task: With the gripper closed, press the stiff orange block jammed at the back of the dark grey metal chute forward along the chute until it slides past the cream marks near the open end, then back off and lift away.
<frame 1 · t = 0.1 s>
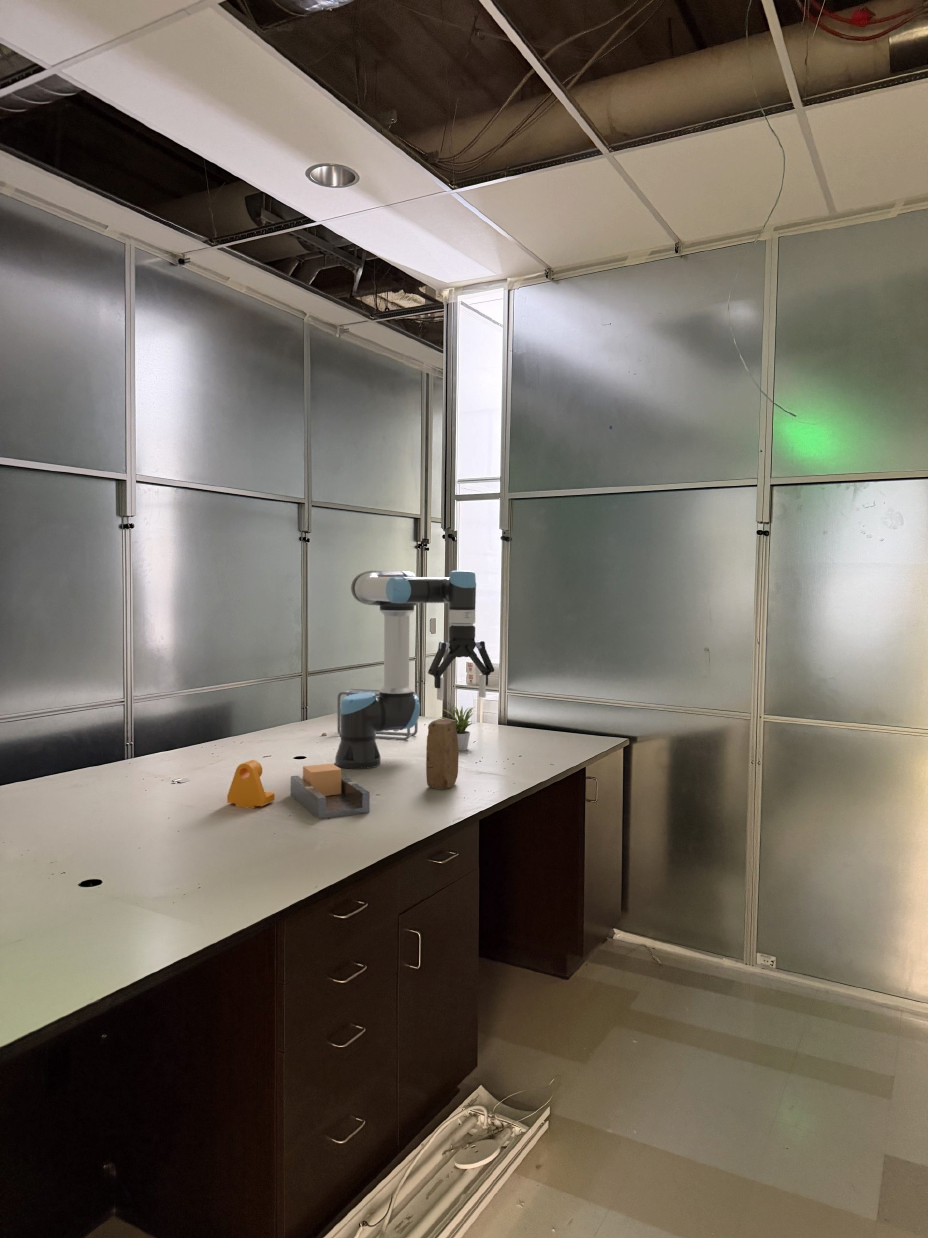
hand: (461, 698, 236), 28 cm above the worktop, tool pointing down, fingers open, 13 cm apart
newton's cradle: (377, 736, 324), on the worktop
slider block: (322, 780, 231), point 5 cm above the worktop, slide at 0.0 cm
house plant: (461, 749, 302), on the worktop
chute: (328, 803, 226), on the worktop
bracket: (251, 804, 226), on the worktop
block: (442, 786, 247), on the worktop
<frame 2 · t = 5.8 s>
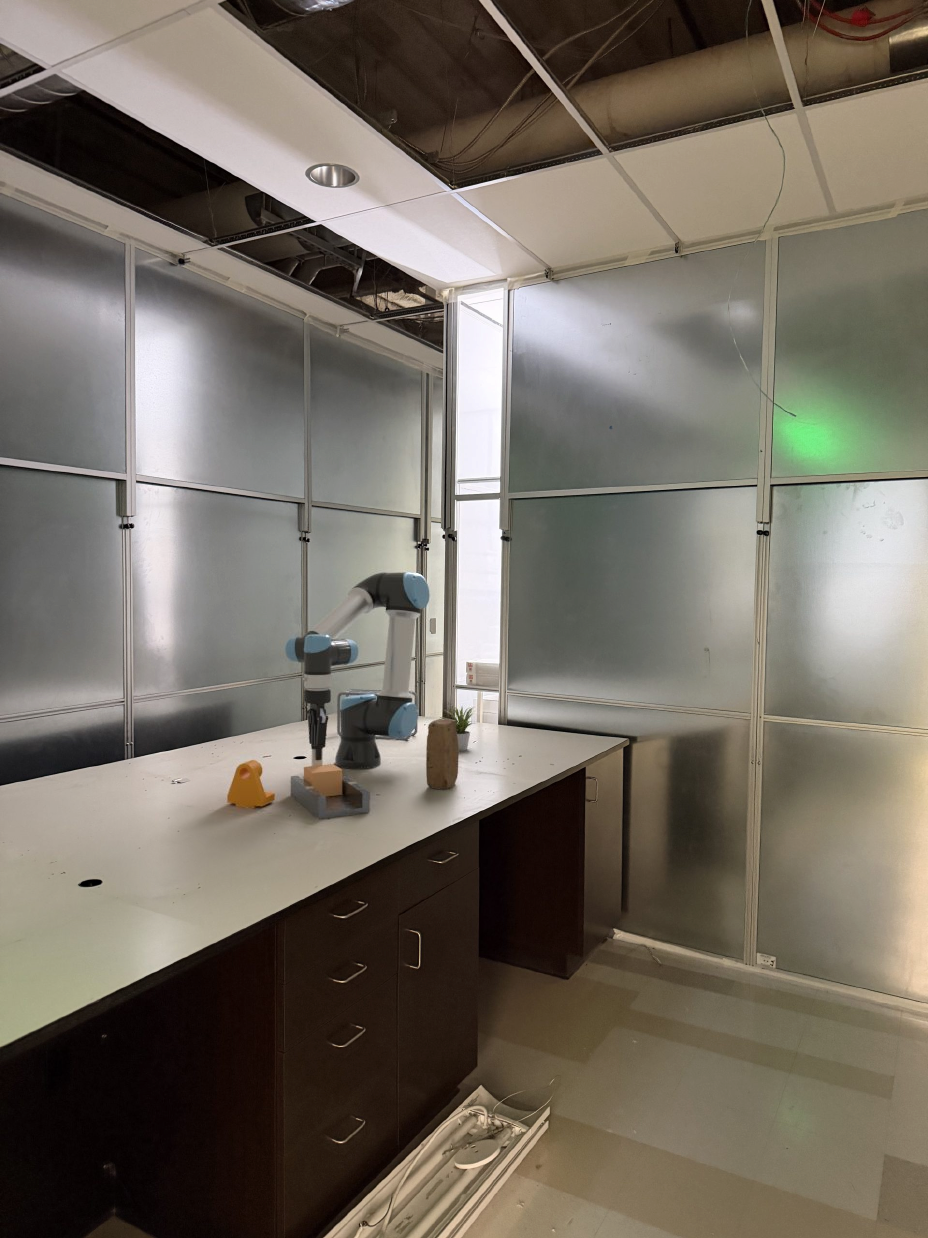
hand: (317, 770, 235), 7 cm above the worktop, tool pointing down, fingers closed
slider block: (322, 780, 231), point 5 cm above the worktop, slide at 0.8 cm, touching gripper
everything else where it was.
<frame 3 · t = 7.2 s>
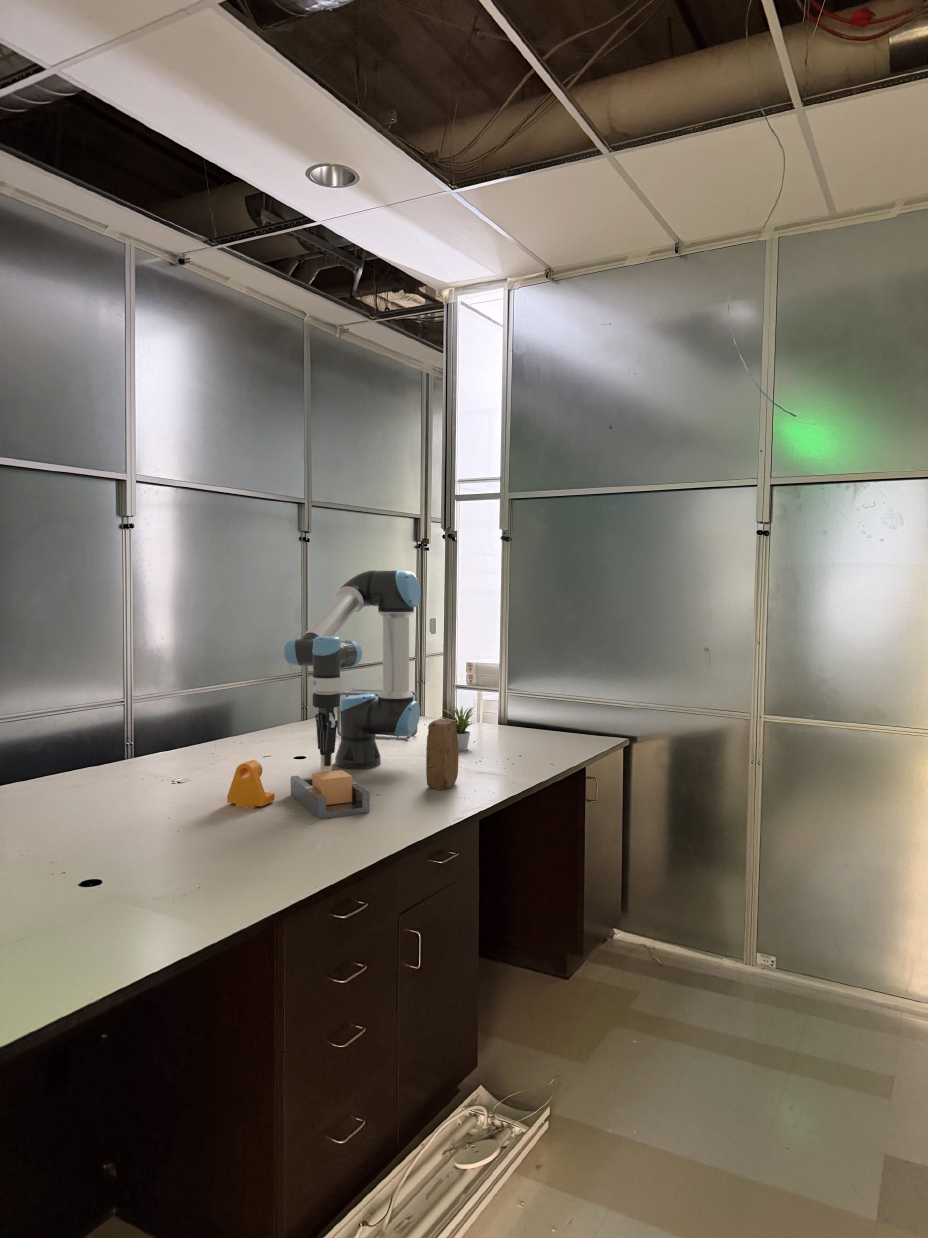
hand: (325, 776, 228), 7 cm above the worktop, tool pointing down, fingers closed
slider block: (332, 787, 224), point 5 cm above the worktop, slide at 8.9 cm, touching gripper
everything else where it was.
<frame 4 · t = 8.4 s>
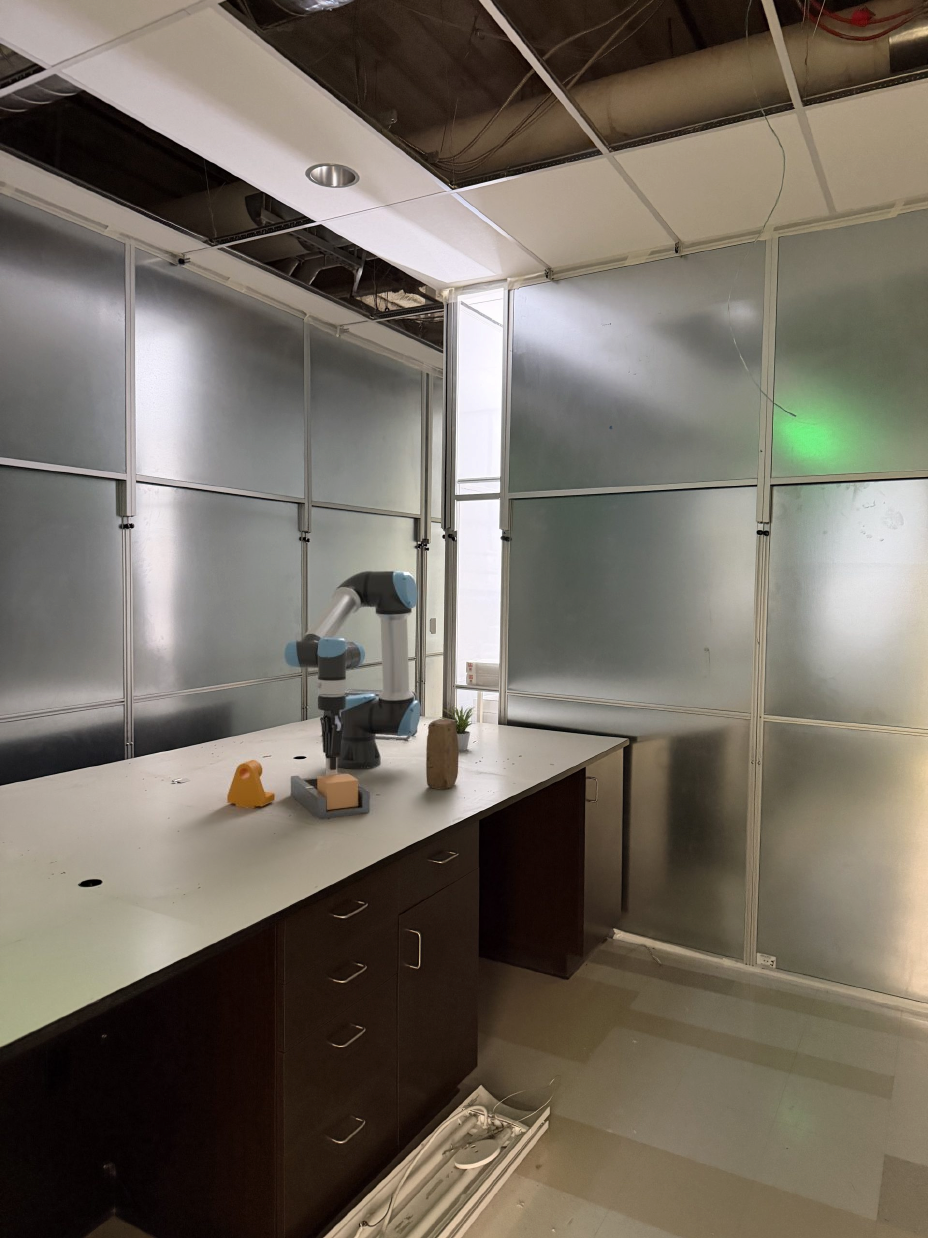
hand: (331, 780, 224), 7 cm above the worktop, tool pointing down, fingers closed
slider block: (337, 791, 220), point 5 cm above the worktop, slide at 13.4 cm, touching gripper
everything else where it was.
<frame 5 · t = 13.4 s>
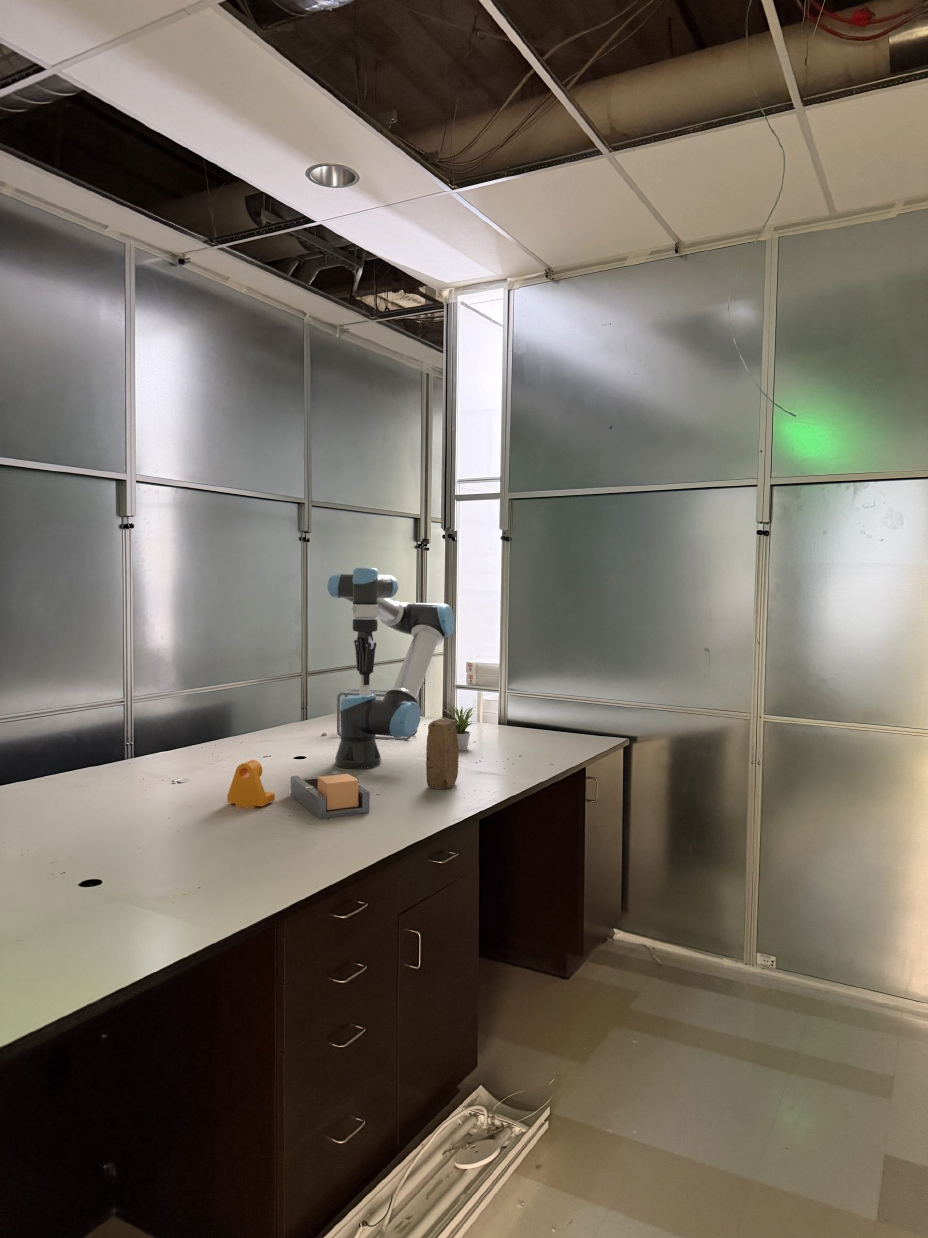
hand: (364, 695, 251), 26 cm above the worktop, tool pointing down, fingers closed
slider block: (337, 791, 219), point 5 cm above the worktop, slide at 13.7 cm
everything else where it was.
at the end: slider block slide at 13.7 cm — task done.
